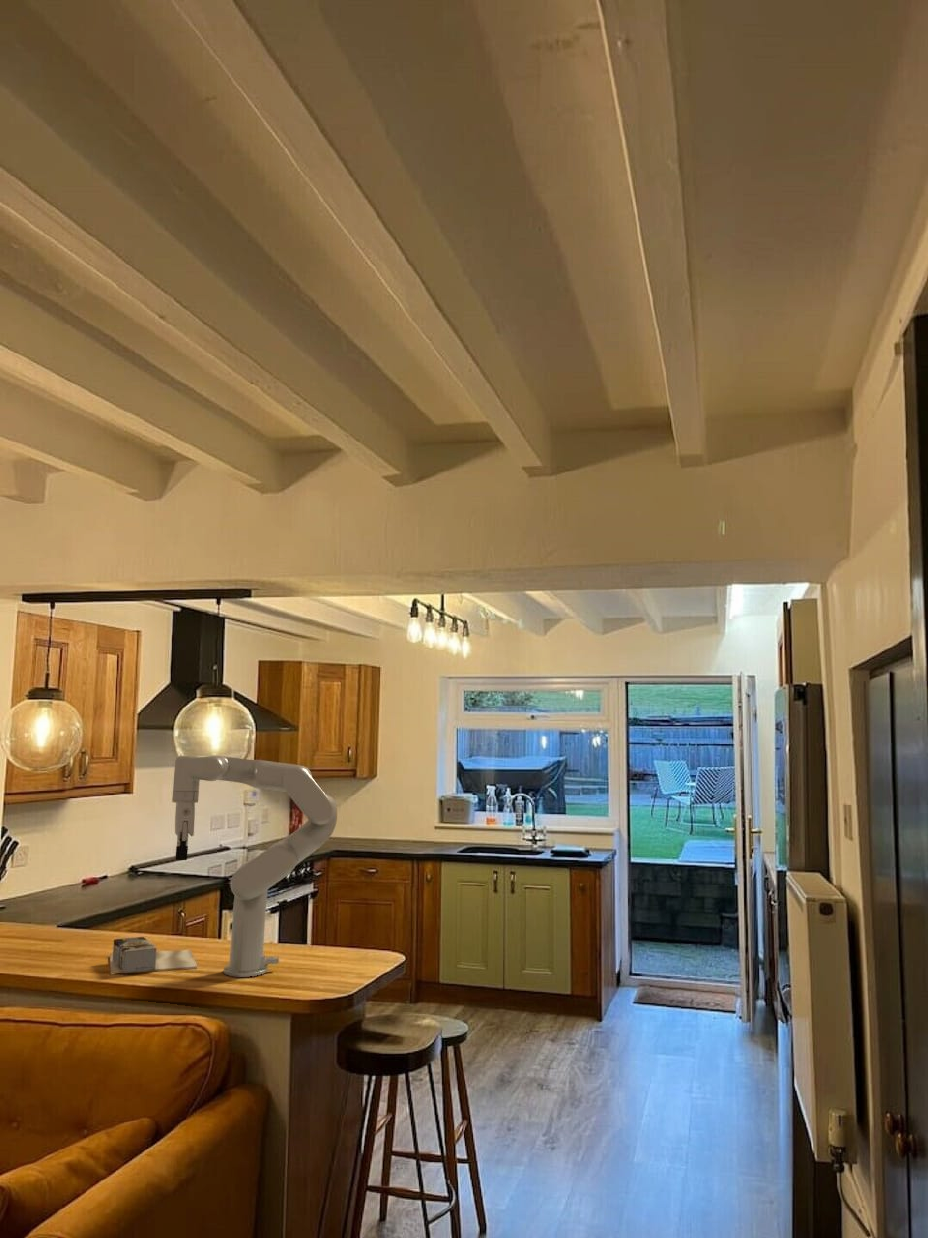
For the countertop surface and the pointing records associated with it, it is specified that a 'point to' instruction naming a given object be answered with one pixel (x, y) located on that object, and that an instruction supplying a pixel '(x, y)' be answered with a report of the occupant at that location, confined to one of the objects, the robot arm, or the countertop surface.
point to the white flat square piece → (166, 961)
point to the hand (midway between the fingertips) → (181, 859)
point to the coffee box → (134, 954)
